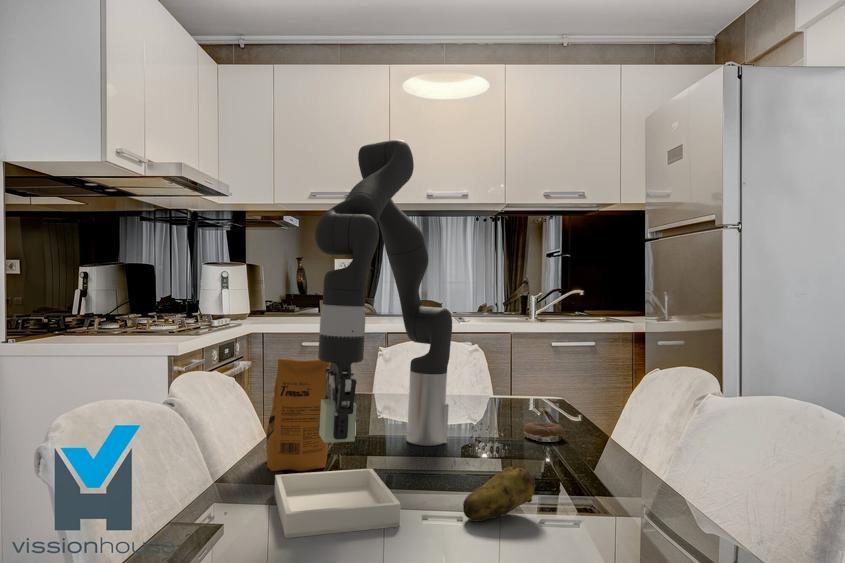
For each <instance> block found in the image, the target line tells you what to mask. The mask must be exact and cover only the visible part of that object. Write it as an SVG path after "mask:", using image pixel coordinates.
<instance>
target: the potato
mask: <svg viewBox="0 0 845 563" xmlns="http://www.w3.org/2000/svg"><path fill="white" fill-rule="evenodd" d="M535 488H536V480H535V478H534V477H533V475H532V474H531V473H530V472H529V471H527V470H525V468H521V467H519V466H509V467H505V468H504V469H502V470H501V471H499V472H497V473H496V474H494V475H493V476H492V477H491V478H490V479H489V480H487V481H486V482H485V483H484V484H483V485H481V486H480V487H478V488H476V489H475V490H473V491H471V493H469V494H468V495H467V496H466V497H465V499H464V501H463V507H462V508H463V514H464V516H465V517H466V518H468V519H469V520H471V522H482V521H485V520H488V519H497V518H499V517H502V516H504V515H506V514H508V513H511V511H513V510H514V509H516V508H518V507H520V506H522V505H524V504H526V503H531V502H533V496H534V494H535Z"/></svg>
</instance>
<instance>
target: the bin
mask: <svg viewBox="0 0 845 563" xmlns="http://www.w3.org/2000/svg"><path fill="white" fill-rule="evenodd" d="M273 495H274V500H275V502H276V503H275V504H276V507H277V511H278V515H279V520H280V523H281V527H282V530H283V531H282V532H283V536H284V538H285V539H292V538H300V537H302V538H303V537H309V536H310V537H311V536H318V535H319V536H320V535H329V534H330V535H331V534H339V533H349V532H358V531H359V532H360V531H367V530H368V531H369V530H376V529H377V530H378V529H388V528H389V529H390V528H394V527H395V528H396V527H397V528H398V527H400V525H401V524H400V523H401V508H402V507H401V502H400V501H399V499H397V497H396V496H395V495H394V494H393V493H392V492H391V490H390V488H389V487H387V484H386V483H384V481H383V480H382V479H381V478H380V476H379V475H378V474H377V472H376V471H375V470H374V469H373V468H361V469H360V468H359V469H347V470H343V469H342V470H332V471H331V470H330V471H314V472H312V471H311V472H302V473H301V472H298V473H287V474H286V473H285V474H284V473H283V474H275V475H274V494H273Z"/></svg>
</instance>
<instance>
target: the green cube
mask: <svg viewBox="0 0 845 563" xmlns="http://www.w3.org/2000/svg"><path fill="white" fill-rule="evenodd" d="M341 407H346V402H342V405H341ZM357 407H358V405H357V404H356V403H355V402H354V407H353V414H350V416H349V417H348V436H347V438H346V439H335V438H334V437H333V432H334V402H332V401H331V399H321V410H320V429H319V435H320V437H321V438H322V440H323V441H324V443H345V442H347V443H348V442H355V440H356V426H357V425H356V422H357Z"/></svg>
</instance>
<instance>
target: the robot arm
mask: <svg viewBox="0 0 845 563" xmlns="http://www.w3.org/2000/svg"><path fill="white" fill-rule="evenodd" d="M357 161H358V167H359V172H360V176H361V177H362V179H361V180H360V181H359V182H358V183H356V184H355V186H353V188H352V189H351V190H350V191H349V193H348V194H347V195H346V197H345V198H344V200H343V201H340V202H339V203H337V204H336V205H334V206H332V207H330V208H329V209H328V210H326V211H325V212H324V213H323V214H322V215H321V216H320V218H319V219H318V221H317V224H316V226H315V228H314V241H315V244H316V246H317V248H318V249H319V250H320V251H321V252H322V253H324V254H326V255H330V256H344V257H345V256H349V257H353V258H352V260H351V262H350V263H349V264H348V265H347V266H346V267H343V268H337V269H331V270H328V271H327V272H326V273H325V274H324V278H323V291H322V308H321V313H320V319H319V331H318V332H319V335H318V353H317V354H318V355H317V358H318V360H321V361H324V362H329V363H330V368H326V370H325V373H326V386H325V399H331V401H332V402H334V432H333V437H334V438H335V439H346V438H347V436H348V417H349V416H350V414H353V407H354V403H355V397H356V396H355V395H356V388H357V386H356V385H357V379H356V378H355V375H354V373H352V364H357V363H361V362H362V361H363V360H364V354H365V353H364V352H365V334H366V332H365V331H366V312H365V310H366V308H365V302H366V288H367V287H366V285H367V279H368V277H369V276H368V275H369V270H370V267H371V263H372V261H373V258H374V255H375V252H376V249H377V246H378V244H379V240H380V239H379V238H380V233H381V236H382V241H383V244H384V248H385V249H384V250H385V252H386V256H387V259H388V262H389V265H390V269H391V271H392V274H393V278H394V282H395V285H396V289H397V293H398V297H399V302H400V308H401V314H402V320H403V324H404V329H405V332H406V334H407V338H408V339H409V340H410V341H412V342H413V343H418V344H423V345H424V344H425V345H429V350H428V352H426V354H424V355H422V356H418V357H414V358H412V359H411V361H410V364H409V365H410V366H409V367H410V368H409V369H410V370H409V383H408V385H409V386H408V390H409V391H408V405H407V406H408V408H407V409H408V410H407V428H406V430H407V431H406V441H407V442H408V443H410V444H413V445H418V446H423V447H424V446H426V447H427V446H430V447H431V446H438V445H442V444H447V443H448V429H449V428H448V425H449V404H448V403H447V382H448V380H447V379H448V366H449V360H450V357H451V356H450V355H451V346H452V345H451V344H452V343H451V342H452V334H453V317H452V314H451V312H450V311H449V309H447V308H446V307H434V306H424V305H423V303H422V300H421V296H420V288H421V284H422V282H423V281H422V280H423V279H424V277H425V274H426V272H427V269H428V265H429V254H428V249H427V245H426V241H425V238H424V234H423V232H422V230H421V229H420V227H419V226H418V225H417V224H416V223H415V222H414V221H413V220H412V219H411V218H410V217H409V216H407V214H405V213H404V211H402V210H401V209H400V208H399V206H397V204H396V203H395V201H394V200H393V199H392V198H393V197H394V196H395V195H396V194H397V193H398V192H399V191H400V190H401V189H402V188H403V186H405V185H406V184H407V183H408V182H409V181H410V180H411V178H412V176H413V173H414V166H415V165H414V156H413V153H412V149H411V148H410V146H409V144H408V143H407V142H406V141H405V140H402V139H390V140H386V141H380V142H375V143H369V144H365V145H363V146H361V147H360V148H359V150H358V154H357ZM342 402H346V407H341V405H342Z"/></svg>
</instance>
